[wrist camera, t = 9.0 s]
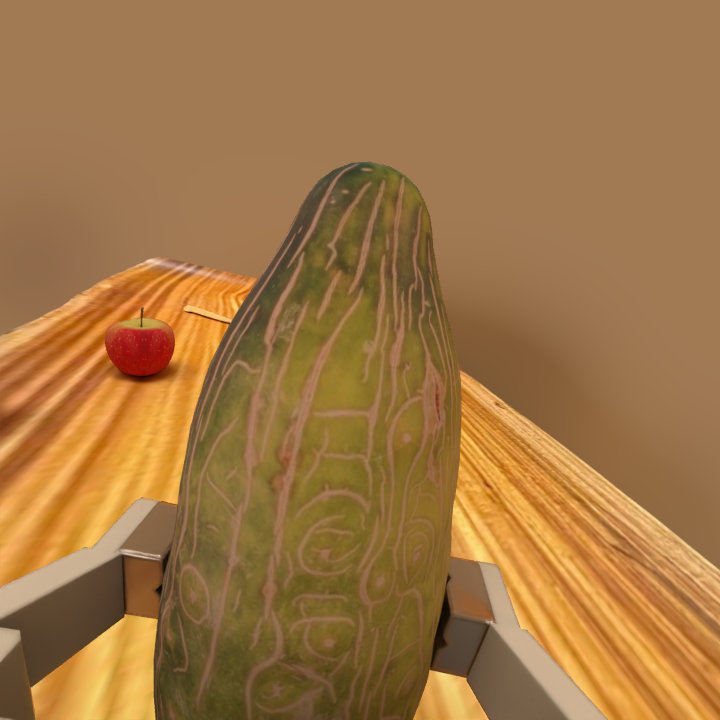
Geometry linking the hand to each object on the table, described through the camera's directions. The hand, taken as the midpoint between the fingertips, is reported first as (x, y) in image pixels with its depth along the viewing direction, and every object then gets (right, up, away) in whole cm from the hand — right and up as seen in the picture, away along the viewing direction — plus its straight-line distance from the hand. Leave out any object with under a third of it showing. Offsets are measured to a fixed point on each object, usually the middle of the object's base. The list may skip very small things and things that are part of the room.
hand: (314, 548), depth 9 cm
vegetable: (-2, -11, +3) cm, 11 cm away
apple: (-30, +3, +43) cm, 53 cm away
